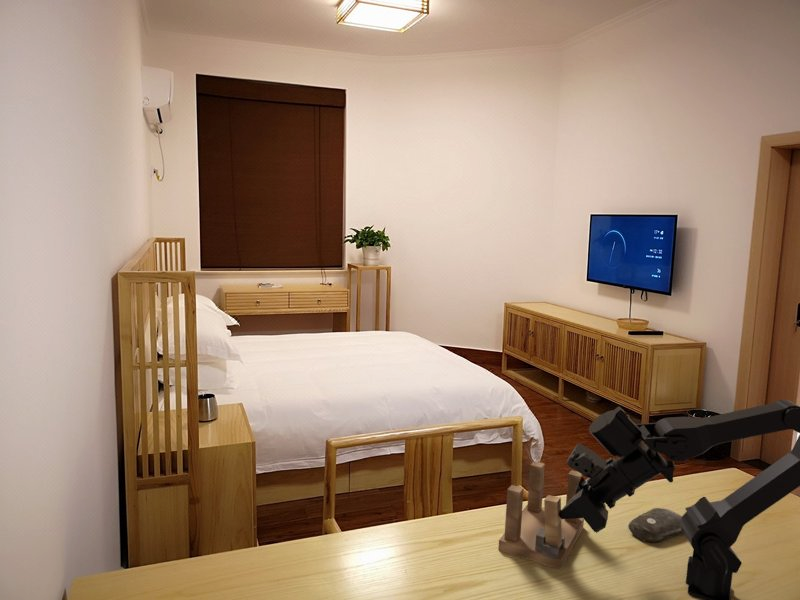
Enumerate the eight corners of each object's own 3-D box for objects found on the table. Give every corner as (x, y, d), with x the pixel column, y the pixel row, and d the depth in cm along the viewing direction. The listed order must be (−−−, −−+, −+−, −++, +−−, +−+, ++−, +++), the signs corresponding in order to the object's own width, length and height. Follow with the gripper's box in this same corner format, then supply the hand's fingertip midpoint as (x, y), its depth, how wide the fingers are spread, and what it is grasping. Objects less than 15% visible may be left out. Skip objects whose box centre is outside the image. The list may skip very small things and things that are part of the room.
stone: (640, 531, 118) (614, 508, 128) (641, 551, 119) (615, 527, 128) (702, 518, 120) (671, 497, 130) (703, 539, 121) (672, 516, 131)
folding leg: (562, 548, 112) (560, 496, 111) (558, 555, 109) (556, 502, 109) (549, 545, 113) (548, 494, 112) (545, 552, 111) (543, 500, 110)
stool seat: (583, 527, 124) (587, 472, 123) (559, 571, 108) (564, 508, 107) (527, 512, 130) (531, 459, 129) (497, 551, 114) (500, 491, 113)
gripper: (603, 420, 114) (542, 462, 120) (590, 452, 97) (519, 500, 104) (643, 467, 112) (579, 508, 118) (637, 509, 95) (562, 555, 101)
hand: (560, 516), depth 110 cm, fingers closed, pressing on folding leg
